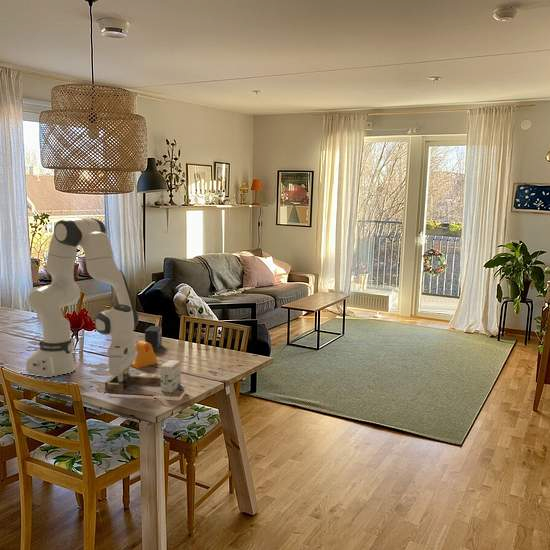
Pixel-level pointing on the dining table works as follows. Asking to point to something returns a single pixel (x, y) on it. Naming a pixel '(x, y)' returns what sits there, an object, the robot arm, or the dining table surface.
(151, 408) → the dining table surface
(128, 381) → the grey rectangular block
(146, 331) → the small box
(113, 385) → the open box
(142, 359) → the bracket
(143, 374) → the tan square plate
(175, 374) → the ink box
